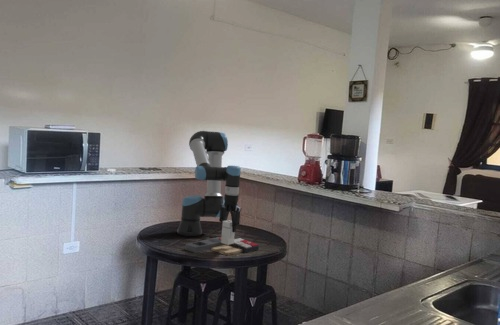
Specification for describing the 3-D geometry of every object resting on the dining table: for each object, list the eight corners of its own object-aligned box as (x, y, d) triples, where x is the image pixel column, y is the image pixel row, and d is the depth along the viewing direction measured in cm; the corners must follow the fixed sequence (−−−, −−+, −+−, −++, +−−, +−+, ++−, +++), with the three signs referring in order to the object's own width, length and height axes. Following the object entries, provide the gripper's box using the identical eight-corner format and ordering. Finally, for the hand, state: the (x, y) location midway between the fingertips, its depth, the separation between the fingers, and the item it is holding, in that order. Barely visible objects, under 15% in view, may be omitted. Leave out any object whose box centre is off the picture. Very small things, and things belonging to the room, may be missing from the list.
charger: (220, 242, 224) (222, 220, 223) (227, 241, 228) (228, 219, 227) (227, 244, 221) (229, 222, 220) (234, 243, 225) (235, 221, 224)
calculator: (246, 247, 224) (227, 239, 233) (245, 254, 224) (226, 246, 234) (259, 244, 232) (239, 236, 242) (258, 251, 232) (239, 244, 242)
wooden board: (211, 250, 224) (211, 247, 224) (225, 246, 233) (226, 244, 233) (227, 255, 216) (227, 253, 216) (242, 251, 226) (242, 249, 226)
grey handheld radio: (195, 253, 216) (195, 246, 215) (184, 249, 221) (185, 242, 220) (234, 243, 240) (234, 237, 240) (224, 240, 245) (224, 234, 245)
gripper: (214, 192, 225) (211, 233, 227) (240, 197, 214) (236, 241, 215) (223, 191, 231) (220, 232, 233) (249, 196, 220) (245, 239, 221)
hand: (228, 236), depth 224 cm, fingers closed on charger, 5 cm apart
